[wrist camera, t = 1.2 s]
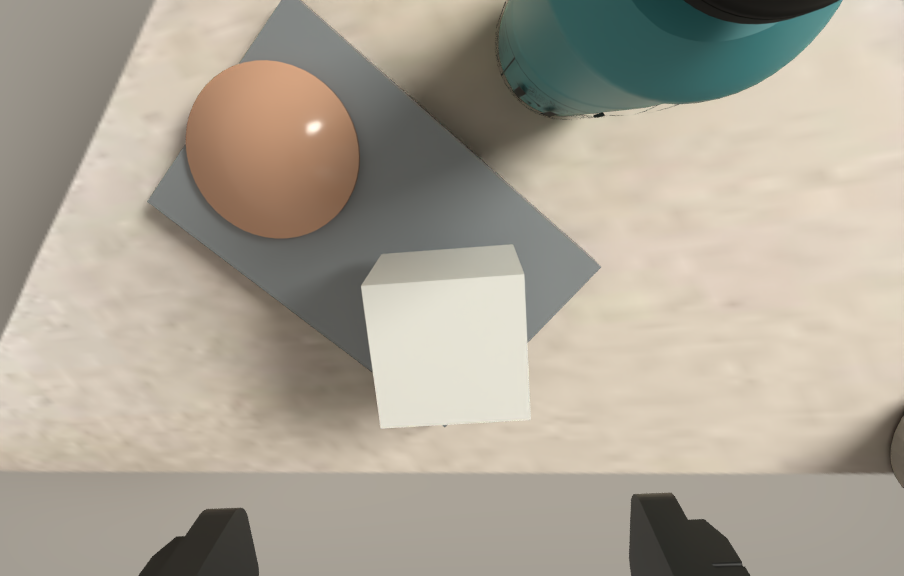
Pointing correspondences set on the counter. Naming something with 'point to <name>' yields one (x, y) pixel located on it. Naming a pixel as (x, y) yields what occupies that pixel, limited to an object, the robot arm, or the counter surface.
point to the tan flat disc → (272, 149)
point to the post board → (378, 200)
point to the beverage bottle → (648, 49)
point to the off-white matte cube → (448, 336)
